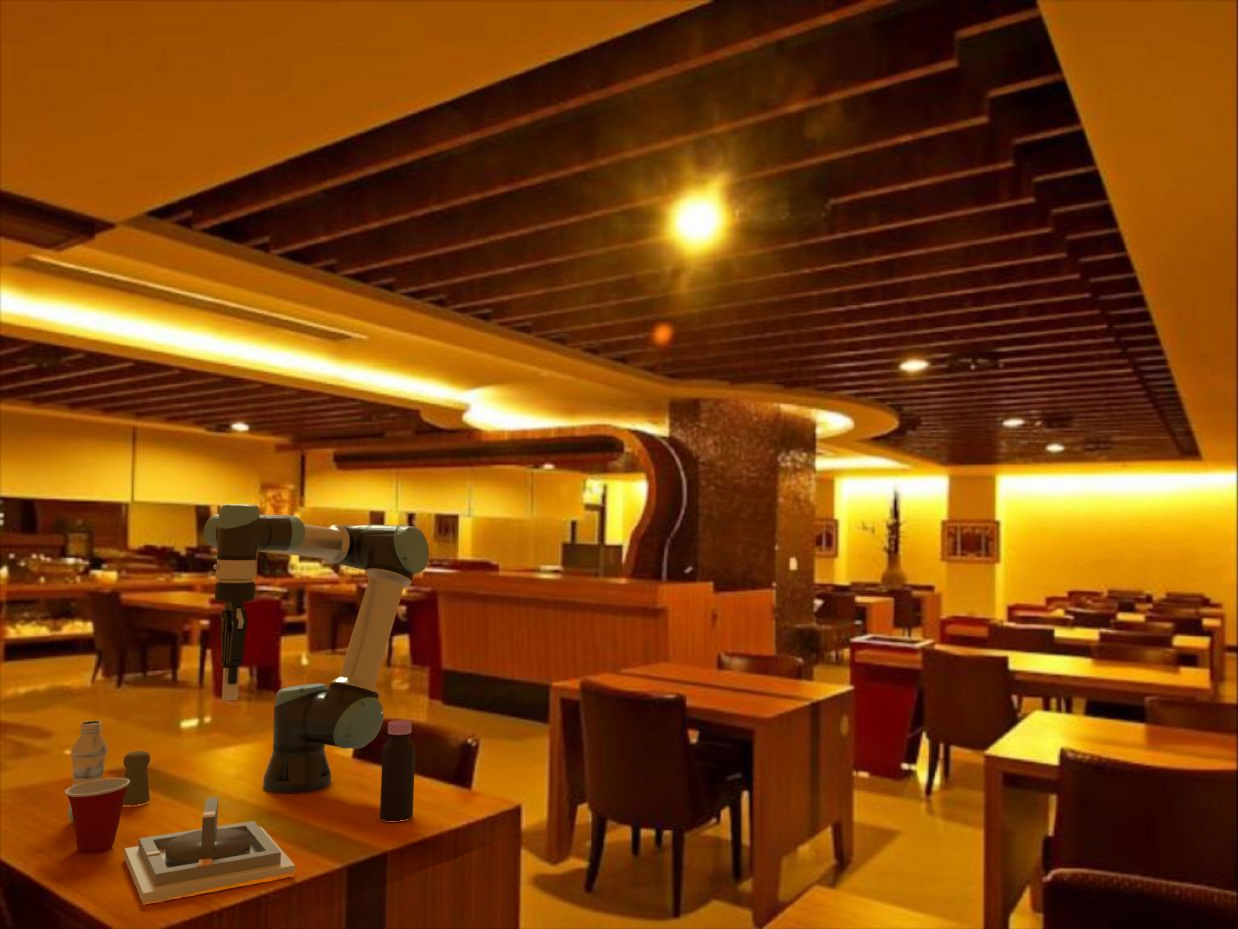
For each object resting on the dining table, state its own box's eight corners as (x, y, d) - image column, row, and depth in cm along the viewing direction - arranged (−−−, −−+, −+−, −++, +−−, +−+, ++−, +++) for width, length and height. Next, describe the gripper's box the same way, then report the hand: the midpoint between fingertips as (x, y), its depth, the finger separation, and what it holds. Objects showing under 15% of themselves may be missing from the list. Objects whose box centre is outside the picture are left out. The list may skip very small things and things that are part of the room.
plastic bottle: (111, 819, 192) (117, 720, 193) (83, 829, 185) (89, 727, 186) (88, 815, 194) (93, 718, 195) (59, 825, 187) (65, 724, 189)
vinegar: (419, 818, 197) (422, 722, 198) (391, 825, 192) (395, 727, 193) (400, 811, 201) (404, 717, 202) (373, 818, 196) (377, 722, 198)
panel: (261, 837, 183) (262, 815, 183) (294, 877, 163) (295, 852, 163) (124, 859, 169) (125, 835, 170) (142, 906, 150) (144, 878, 150)
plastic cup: (78, 839, 180) (82, 776, 180) (136, 838, 180) (140, 776, 181) (49, 859, 169) (53, 792, 169) (110, 859, 170) (114, 792, 170)
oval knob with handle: (169, 846, 170) (171, 797, 171) (250, 838, 175) (253, 791, 176) (161, 873, 157) (163, 820, 158) (249, 864, 162) (252, 813, 163)
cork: (155, 799, 205) (158, 749, 206) (139, 808, 199) (141, 756, 200) (130, 798, 206) (132, 748, 206) (112, 806, 200) (115, 754, 200)
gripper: (209, 579, 190) (203, 696, 189) (222, 583, 179) (216, 707, 178) (247, 578, 194) (242, 693, 193) (263, 582, 184) (257, 703, 182)
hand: (229, 699), depth 185 cm, fingers closed
